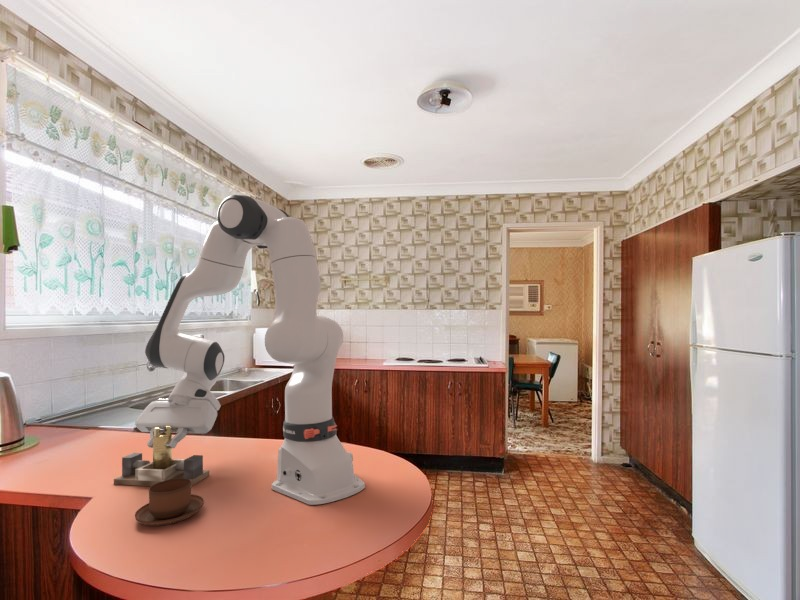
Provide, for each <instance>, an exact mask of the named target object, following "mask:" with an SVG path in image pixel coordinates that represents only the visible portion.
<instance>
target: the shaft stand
mask: <svg viewBox="0 0 800 600" xmlns="http://www.w3.org/2000/svg"><path fill="white" fill-rule="evenodd" d="M203 457H204V456H203V455H202V454H201V455H198V454H193V455H191V456H189V457H187V458H185V459H184V458H183V459H182V458H172V466H170V467H168V468H166V469H153V461H152V462H151V461H150V460H144V459H143V452H139V453H138V452H133V453H131V454H127V455H125V456H122V458H121V475H120V476H117V477H115V478H114V479H113V485H118V486H119V485H121V486H137V487H138V486H139V487H141V486H142V487H143V486H144V487H151V486H153V485H154V484H156V483H159V482H162V481H165V480H170V479H177V478H185V479H189V480H190V481H191V487H192V486H194V485H195V484H197V483H200V481H202V480H204V479H206V478H208V477H209V476H210V470H209V469H208V470H207V469H206V470H205V469H204V458H203Z"/></svg>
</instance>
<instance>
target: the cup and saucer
mask: <svg viewBox="0 0 800 600" xmlns="http://www.w3.org/2000/svg"><path fill="white" fill-rule="evenodd" d="M204 502H205V500H204V498H203V497H202V496H200V495H198V494H197V495H196V494H192V486H191V481H190V480H189V479H185V478H177V479H170V480H165V481H162V482H159V483H156V484H154V485H153V486H149V488H148V503H146V504H144V505H143V506H141V507H139V508H138V509H137V510H136V511H135V513H134V519H135V520H136V521H137V522H138V523H139V524H141V525H144V526H153V527H159V526H167V525H171V524H175V523H178V522H181V521H184V520H186V519H189V518H190V517H192V516H193V515H195V514H196V513H198V512H199V510H200V509H201V508H202V507H203V506H204Z"/></svg>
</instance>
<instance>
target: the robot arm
mask: <svg viewBox="0 0 800 600" xmlns="http://www.w3.org/2000/svg"><path fill="white" fill-rule="evenodd" d="M216 217H217V218H216V219H217V221H215V222H214V223H212V225H211V226H210V229H209V231H208V232H207V234H206V237H205V239H204V241H203V245H202V248H201V250H200V255H199V259H198V260H197V263H196V265H195V266H194V268H193V269H192V270H191V271H190V272H188V273H184V274H183V275H182V276H181V277H180V278H179V280H178V281H177V283H176V285H175V287H174V288H173V291H172V293H171V294H170V297H169V299H168V301H167V303H166V305H165V308H164V310H163V312H162V314H161V316H160V319H159V321H158V323H157V325H156V327H155V329H154V330H153V332H152V335H151V336H150V338H149V340H148V342H147V343H146V346H145V351H144V353H145V356H146V359H148V361H149V363H150V364H151V366H152V367H156V368H162V369H171V370H174V371H175V370H176V371H180V372H183V375H182V377H181V378H180V379H178V381H177V382H176V384H175V386H174V388H173V389H172V391H171V393H170V394H169V396H168V397H167V398H157V399H156V400H155V399H154V400H153V401H151V402H150V403H149V404H148V405H147V406H146V407H144V409H143V410H142V412H141V413H140V414H139V416H138V417H137V418H136V420H135V421H134V426H135V427H136V429H138V430H139V431H140V432H141V433H149V439H148V441H147V444H146V445H147V447H148V448H150V449H151V448H152V449H153V436H154V428H155V427H158V428H159V429H165V426H170V433H171V434H173V433H175V435H174V436H173V437H172V439H169V440H168V442H167V443H166V446H167V447H168V448H172V449H175V448H176V446H177V445H178V443H179V442H181V441H183V439H184V438H186V436H187V434H208V432H210V431H211V430H212V428H213V427H214V424H215V421H216V420H217V417H218V411H219V410H220V408H221V406H222V405H221V403H220V401H219V400H218V398H217V397H216V396H215V395H214V394H213V392H212V391H211V389H212V387H213V386H215V384H216V382H217V381H218V378H219V376H220V375H221V372H222V370H223V367H224V364H225V360H226V356H225V353H224V351H223V349H222V347H221V345H220V344H219V343H218V341H214V340H211V339H208V338H204V337H200V336H194V335H190V334H185V333H184V332H183V333H182V332H180V331H179V326H180V324H181V322H182V320H183V317H184V315H185V313H186V311H187V309H188V307H189V305H190V303H191V302H192V301H194V300H195V299H198V298H202V297H203V298H204V297H212V296H219V295H224V294H228V293H229V292H232V291H233V290H234V289H235V288H237V287H238V285H239V283H240V281H241V279H242V275H243V272H244V270H245V269H244V268H245V264H246V259H247V256H248V253H249V251H250V250H251V249H252V248H254V247H257V248H258V249H268V254H269V259H270V266H271V271H272V272H271V273H272V278H273V279H272V280H273V285H274V294H275V299H274V300H275V301H274V302H275V305H274V313H273V318H272V322H271V323H270V325H269V326H268V328H267V330H266V331H265V334H264V347H265V351H266V352H267V354H268V355H269V357H270V358H272V359H273V360H274V361H276V362H279V363H284V364H289V365H293V369H292V374H291V376H290V377H289V378H290V379H289V380H288V382H287V383H286V385H285V389H284V412H285V413H284V420H283V426H282V432H283V438H284V440H283V442H282V444H281V446H279V449H278V455H277V468H276V471H277V472H276V480H274V481H273V482H272V483H271V490H273V491H275V492H277V493H280V494H283V495H285V496H287V497H290V498H292V499H295V500H297V501H300V502H302V503H305V504H307V505H310V506H315V505H322V504H329V503H333V502H335V501H339V500H343V499H346V498H349V497H351V496H353V495H356V494H358V493H359V492H361V491H363V490H364V489H366V483H365V482H364V480H362V479H361V478H360V477H359V476H357V475H356V474H355V473H354V472H355V471H354V463H353V461H354V456H353V453H352V452H351V451H350V452H347V450H346V448H345V447H344V444H342V442H341V441H340V439H339V438H338V436H337V431H338V428H337V427H338V425H337V424H336V422H335V418H334V416H333V399H332V398H333V395H332V394H333V391H332V389H333V388H332V387H333V379H334V373H335V367H336V362H337V357H338V352H339V350H340V348H341V346H342V344H343V342H344V331H343V329H342V327H341V326H340V324H339V323H338V322H336V321H335V320H333V319H331V318H329V317H326V316H322V315H317V314H318V313H317V306H318V300H319V299H318V298H319V295H320V293H321V291H322V283H321V276H320V272H319V266H318V265H319V264H318V261H317V255H316V250H315V246H314V242H313V239H312V237H311V233H310V231H309V228H308V226H307V224H306V223H305V222H304V221H303V220H302V219H300V218H298V217H293V216H290V215H289V214H288V213H287V212H286V211H285V210H283V209H280V208H277V207H276V206H274V205H272V204H270V203H268V202H267V201H264V200H261V199H258V198H254V197H252V196H249V195H246V194H231V195H228V196H227V197H225V198H224V199H222V201H221V202H220V204H219V206H218V209H217V215H216ZM163 433H165V432H159V434H163Z"/></svg>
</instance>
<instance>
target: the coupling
mask: <svg viewBox="0 0 800 600" xmlns="http://www.w3.org/2000/svg"><path fill="white" fill-rule="evenodd" d="M159 432H161V434H159ZM163 432H165V433H163ZM172 434H173V433H170V426H165V429H159V428H158V427H155V428H154V436H153V448H152V462H153V469H166V468H168V467H170V466H172V459H173V458H172V456H173V455H172V454H173V453H172V452H173V451H172V449H173V448H168V447H167V446H166V443H167V442H168V440H169V439H172V438H173V437H172Z"/></svg>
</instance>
